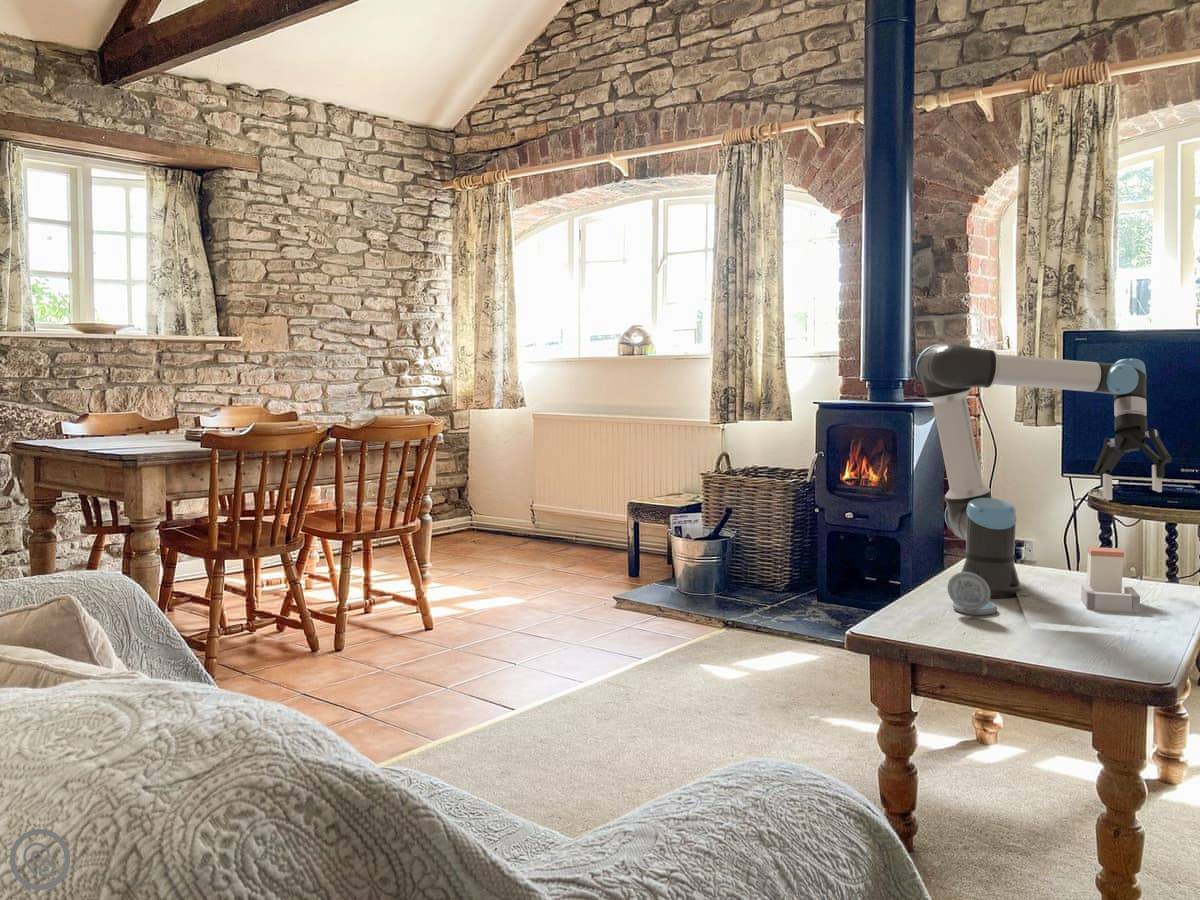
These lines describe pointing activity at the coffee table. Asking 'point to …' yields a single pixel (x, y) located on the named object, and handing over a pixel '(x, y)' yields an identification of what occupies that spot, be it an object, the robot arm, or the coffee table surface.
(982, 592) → the embossed oval plaque stand
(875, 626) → the coffee table surface
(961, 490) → the robot arm
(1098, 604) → the base
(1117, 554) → the orange-topped white block
